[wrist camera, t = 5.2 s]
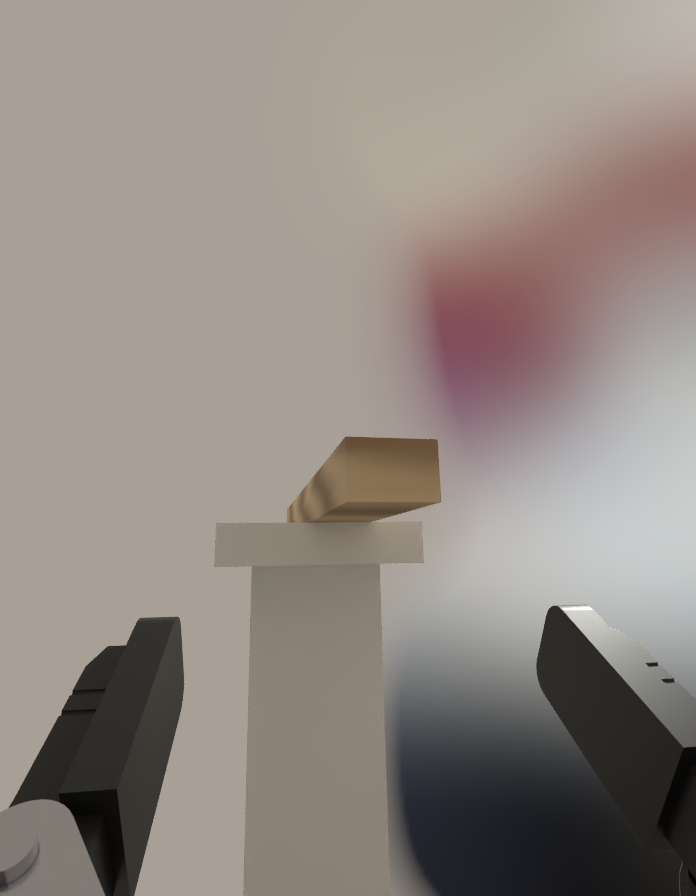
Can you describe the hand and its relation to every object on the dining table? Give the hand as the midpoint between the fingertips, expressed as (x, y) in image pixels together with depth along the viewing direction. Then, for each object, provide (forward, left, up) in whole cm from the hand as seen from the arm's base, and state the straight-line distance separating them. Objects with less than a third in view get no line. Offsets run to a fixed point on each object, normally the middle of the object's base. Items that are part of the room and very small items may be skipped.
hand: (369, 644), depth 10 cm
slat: (-9, +13, +3) cm, 16 cm away
